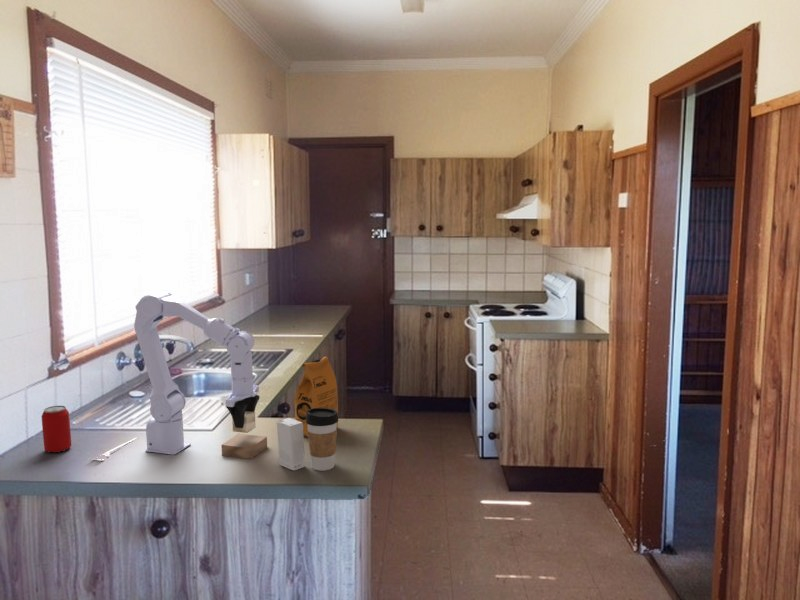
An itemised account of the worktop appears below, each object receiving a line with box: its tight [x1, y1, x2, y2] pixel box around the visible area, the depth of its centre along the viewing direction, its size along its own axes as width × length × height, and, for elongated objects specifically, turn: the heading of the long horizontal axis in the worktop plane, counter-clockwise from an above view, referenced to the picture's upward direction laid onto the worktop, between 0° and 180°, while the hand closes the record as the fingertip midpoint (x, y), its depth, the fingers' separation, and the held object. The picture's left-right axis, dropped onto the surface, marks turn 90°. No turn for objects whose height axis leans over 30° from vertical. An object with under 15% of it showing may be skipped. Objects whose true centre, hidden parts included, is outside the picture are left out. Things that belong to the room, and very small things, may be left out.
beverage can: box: [41, 405, 72, 453], centre depth 179 cm, size 7×7×12 cm
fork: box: [87, 437, 138, 462], centre depth 179 cm, size 3×20×2 cm, turn 169°
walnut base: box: [221, 433, 268, 460], centre depth 178 cm, size 9×9×3 cm
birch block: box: [231, 411, 256, 434], centre depth 177 cm, size 4×4×4 cm
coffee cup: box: [306, 408, 339, 472], centre depth 167 cm, size 8×8×15 cm
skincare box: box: [276, 417, 306, 472], centre depth 167 cm, size 6×4×12 cm
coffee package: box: [294, 356, 339, 438], centre depth 192 cm, size 10×12×22 cm
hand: (244, 424), depth 177 cm, fingers closed on birch block, 4 cm apart
